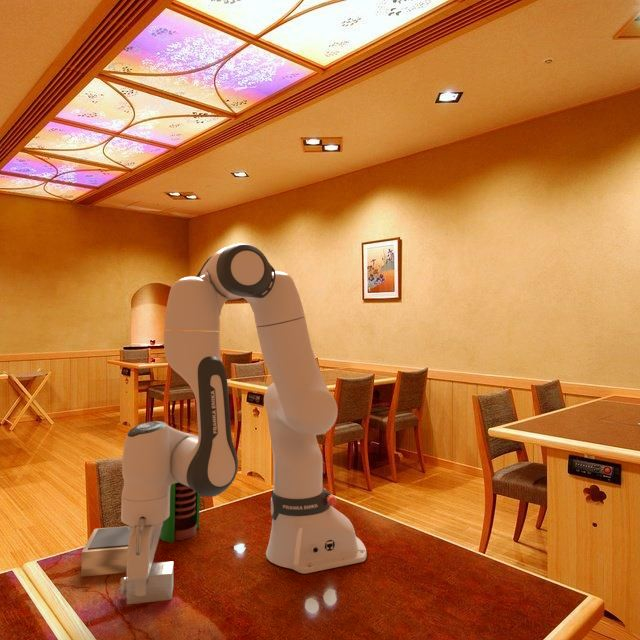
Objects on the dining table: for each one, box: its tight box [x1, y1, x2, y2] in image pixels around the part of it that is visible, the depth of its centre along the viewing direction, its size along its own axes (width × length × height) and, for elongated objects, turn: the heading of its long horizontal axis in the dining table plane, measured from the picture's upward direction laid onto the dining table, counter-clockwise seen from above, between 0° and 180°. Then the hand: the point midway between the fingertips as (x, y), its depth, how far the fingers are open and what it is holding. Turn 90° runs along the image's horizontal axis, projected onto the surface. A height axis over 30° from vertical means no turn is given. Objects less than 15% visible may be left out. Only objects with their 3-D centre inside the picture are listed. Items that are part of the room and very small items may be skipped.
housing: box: [119, 561, 174, 605], centre depth 97 cm, size 9×5×5 cm, turn 102°
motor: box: [159, 482, 201, 543], centre depth 125 cm, size 10×9×20 cm
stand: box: [80, 525, 132, 578], centre depth 111 cm, size 12×12×5 cm
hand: (144, 581), depth 97 cm, fingers open, 8 cm apart
